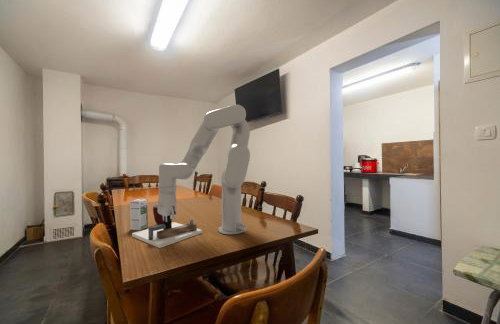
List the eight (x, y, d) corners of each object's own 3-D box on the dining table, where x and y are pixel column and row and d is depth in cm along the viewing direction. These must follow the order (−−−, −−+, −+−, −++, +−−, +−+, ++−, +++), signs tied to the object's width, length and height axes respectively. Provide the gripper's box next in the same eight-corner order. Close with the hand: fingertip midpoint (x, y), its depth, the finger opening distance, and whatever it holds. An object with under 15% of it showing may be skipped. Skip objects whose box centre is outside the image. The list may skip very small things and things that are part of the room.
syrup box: (140, 230, 108) (140, 201, 108) (129, 229, 110) (129, 200, 109) (147, 227, 114) (147, 199, 114) (137, 226, 115) (137, 198, 115)
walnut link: (192, 227, 108) (192, 217, 108) (198, 229, 105) (198, 219, 105) (155, 236, 95) (155, 225, 95) (161, 239, 91) (161, 228, 91)
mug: (152, 222, 123) (152, 204, 122) (168, 220, 126) (168, 203, 126) (153, 227, 113) (153, 208, 113) (169, 225, 116) (169, 206, 116)
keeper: (163, 235, 97) (163, 223, 97) (165, 236, 95) (165, 225, 95) (147, 239, 93) (147, 227, 93) (149, 240, 91) (149, 228, 91)
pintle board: (201, 233, 105) (202, 229, 105) (159, 248, 87) (159, 244, 87) (173, 224, 118) (173, 222, 118) (131, 236, 100) (131, 233, 100)
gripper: (152, 189, 104) (152, 227, 104) (167, 192, 94) (167, 235, 94) (167, 187, 110) (167, 224, 110) (183, 190, 99) (183, 231, 100)
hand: (167, 229), depth 102 cm, fingers closed
